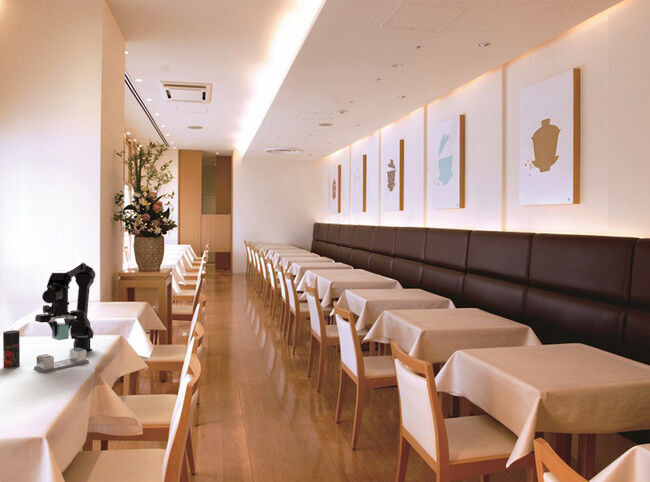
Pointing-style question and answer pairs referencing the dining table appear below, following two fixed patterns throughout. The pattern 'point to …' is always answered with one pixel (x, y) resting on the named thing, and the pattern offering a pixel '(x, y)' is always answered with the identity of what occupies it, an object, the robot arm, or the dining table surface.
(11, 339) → the deodorant
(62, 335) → the block
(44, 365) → the gray block holder
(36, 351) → the dining table surface
